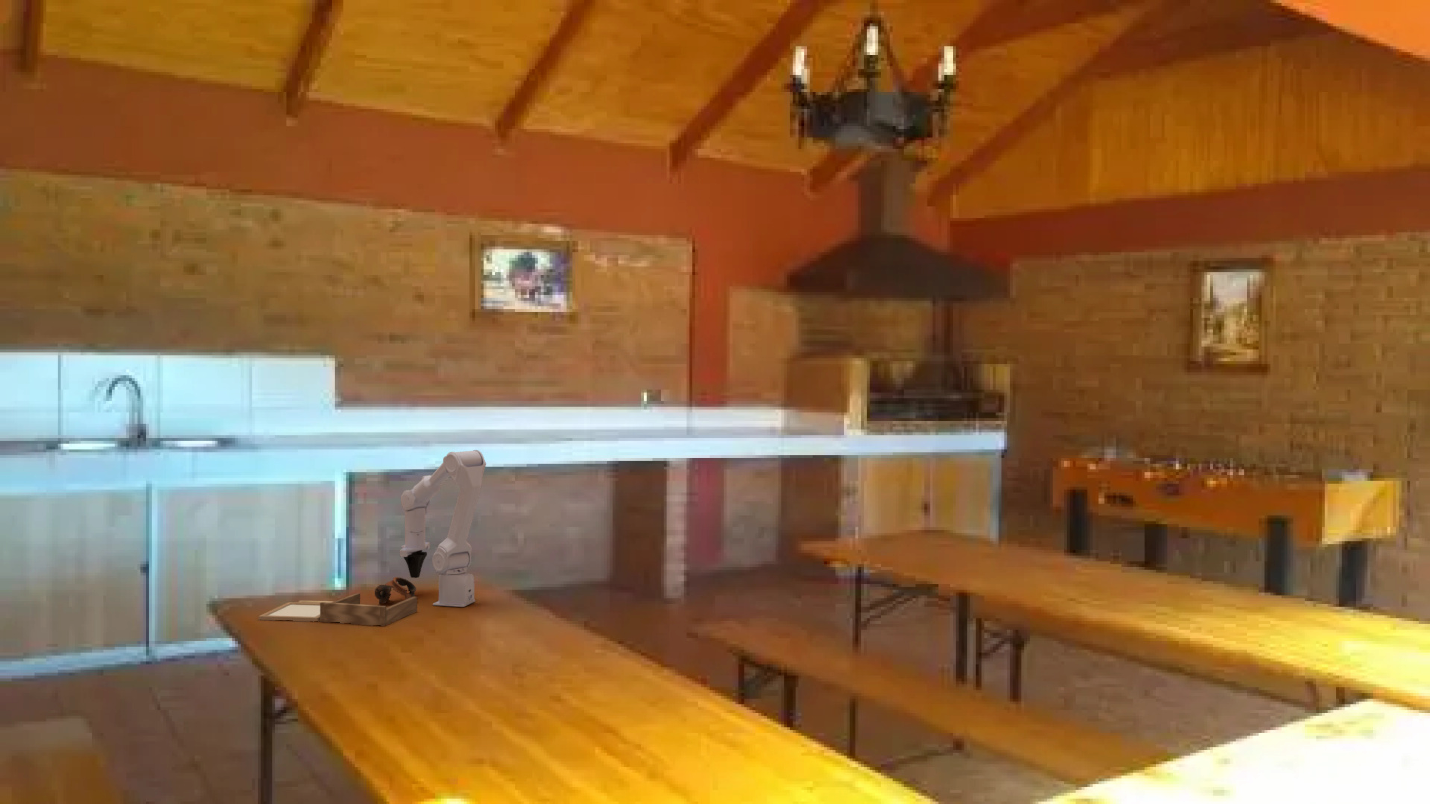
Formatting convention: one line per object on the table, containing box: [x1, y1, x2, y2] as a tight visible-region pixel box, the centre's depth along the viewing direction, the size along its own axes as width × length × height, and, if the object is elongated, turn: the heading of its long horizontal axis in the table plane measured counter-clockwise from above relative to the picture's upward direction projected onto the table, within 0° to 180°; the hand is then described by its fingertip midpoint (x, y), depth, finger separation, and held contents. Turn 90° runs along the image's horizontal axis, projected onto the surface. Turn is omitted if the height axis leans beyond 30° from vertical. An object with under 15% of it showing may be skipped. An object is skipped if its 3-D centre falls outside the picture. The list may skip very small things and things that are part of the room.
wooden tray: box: [320, 592, 418, 627], centre depth 300 cm, size 18×18×5 cm
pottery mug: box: [374, 576, 417, 605], centre depth 316 cm, size 12×10×8 cm
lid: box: [258, 600, 335, 623], centre depth 304 cm, size 16×20×1 cm
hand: (414, 577), depth 327 cm, fingers closed
